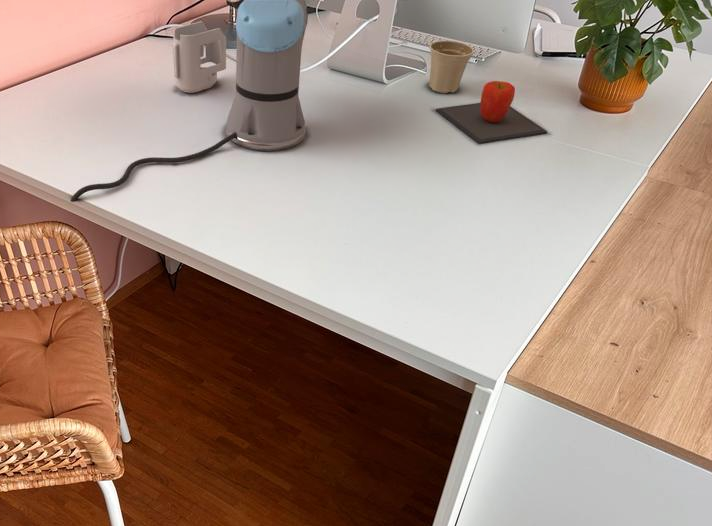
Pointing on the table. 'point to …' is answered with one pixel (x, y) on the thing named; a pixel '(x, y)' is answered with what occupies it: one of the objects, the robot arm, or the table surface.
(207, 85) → the grey boxy plastic piece
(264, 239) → the table surface
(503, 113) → the red bell pepper
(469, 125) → the place mat
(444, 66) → the flower pot
